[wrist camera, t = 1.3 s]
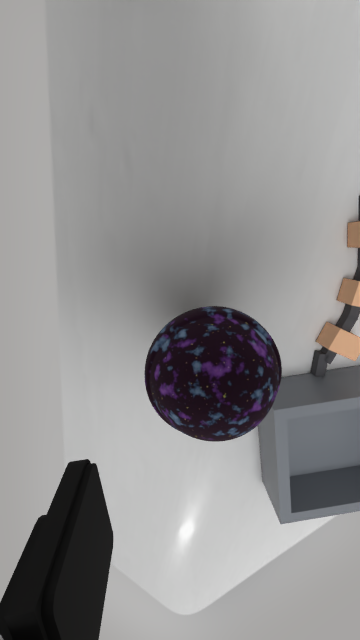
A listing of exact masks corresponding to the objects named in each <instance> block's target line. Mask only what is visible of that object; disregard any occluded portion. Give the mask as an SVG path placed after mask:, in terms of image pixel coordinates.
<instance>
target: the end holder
mask: <svg viewBox="0 0 360 640" xmlns="http://www.w3.org/2000/svg"><path fill="white" fill-rule="evenodd" d="M258 429H259V442H260V455H261V468H262V481H263V483H264V486H265V488H266V491H267V493H268V495H269V498H270V500H271V502H272V505H273V507H274V509H275V512H276V514H277V517H278V519H279V521H280V524H285V523H291V522H297V521H303V520H309V519H315V518H321V517H327V516H333V515H338V514H344V513H350V512H356V511H360V365H359V366H353V367H346V368H340V369H333V370H327V371H326V373H325V376H320V377H315V376H314V375H313V374H312V373H308V374H301V375H295V376H288V377H282V378H281V382H280V387H279V390H278V393H277V395H276V398H275V401H274V403H273V405H272V407H271V409H270V411H269V412H268V414H267V415H266V417H265V418H264V419H263V420H262V421H261V422H260V423H259V424H258Z"/></svg>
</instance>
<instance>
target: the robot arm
mask: <svg viewBox="0 0 360 640" xmlns="http://www.w3.org/2000/svg"><path fill="white" fill-rule="evenodd" d="M112 549H113V531H112V527H111V523H110V518H109V514H108V510H107V506H106V502H105V498H104V494H103V489H102V485H101V481H100V477H99V473H98V469H97V465H96V464H95V463H93V464H91V463H90V461H89V460H88V459H86V460H79V461H73V462H69V463H68V465H67V467H66V470H65V472H64V474H63V477H62V479H61V482H60V484H59V487H58V489H57V491H56V494H55V496H54V498H53V501H52V503H51V506H50V508H49V510H48V513H47V515H42V516H41V517H39V518H38V520H37V522H36V524H35V526H34V528H33V530H32V533H31V535H30V537H29V539H28V542H27V544H26V546H25V548H24V551H23V553H22V555H21V558H20V560H19V562H18V564H17V567H16V569H15V571H14V573H13V575H12V578H11V580H10V582H9V585H8V587H7V589H6V591H5V593H4V596H3V598H2V600H1V602H0V640H98V639H99V633H100V626H101V620H102V613H103V607H104V600H105V593H106V588H107V581H108V574H109V568H110V562H111V555H112Z"/></svg>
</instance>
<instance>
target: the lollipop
mask: <svg viewBox="0 0 360 640" xmlns="http://www.w3.org/2000/svg"><path fill="white" fill-rule="evenodd" d="M281 374H282V368H281V359H280V355H279V352H278V349H277V347H276V345H275V343H274V341H273V339H272V338H271V336H270V335H269V333H268V332H267V331H266V330H265V329H264V328H263V327H262V326H261V325H260V324H259V323H258V322H257V321H256V320H254V319H253V318H251V317H250V316H248V315H246V314H244V313H242V312H240V311H237V310H234V309H231V308H226V307H218V306H210V307H201V308H197V309H193V310H190V311H188V312H185V313H183V314H181V315H179V316H178V317H176V318H174V319H173V320H172V321H170V322H169V323H168V324H167V325H166V326H165V327H164V328H163V329H162V330H161V331H160V332H159V334H158V335H157V336H156V338H155V339H154V341H153V343H152V345H151V347H150V349H149V352H148V355H147V359H146V364H145V385H146V390H147V394H148V397H149V399H150V402H151V404H152V406H153V407H154V409H155V410H156V412H157V413H158V414H159V416H160V417H161V418H162V419H163V420H164V421H165V422H166V423H168V424H169V425H170V426H172V427H173V428H175V429H177V430H179V431H181V432H182V433H184V434H186V435H188V436H191V437H193V438H196V439H200V440H204V441H226V440H231V439H234V438H237V437H240V436H242V435H244V434H246V433H248V432H250V431H251V430H252V429H254V428H255V427H256V426H257V425H258V424H259V423H260V422H261V421H262V420H263V419H264V418H265V417H266V415H267V414H268V412H269V411H270V409H271V407H272V405H273V403H274V401H275V398H276V395H277V393H278V390H279V387H280V382H281Z"/></svg>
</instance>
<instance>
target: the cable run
mask: <svg viewBox="0 0 360 640" xmlns="http://www.w3.org/2000/svg"><path fill="white" fill-rule="evenodd" d="M348 247H355V248H358V268H357V271H356V274H355V277H354V280H352V279H346V278H343V282H342V285H341V288H340V291H339V294H338V298H337V300H338V301H341V302H343V303H346V305H345V308H344V311H343V314H342V316H341V317H340V319H339V321H338V322H337V324H336V326H335V325H333V324H330V323H328V322H326V324H325V326H324V328H323V329H322V331H321V333H320V335H319V336H318V338H317V340H316V342H318V343H319V344H321V345H322V346H323V348H322V350H321V351H315V353H314V358H313V363H312V368H311V373H312V374H313V375H314V376H315V377H320V376H325V373H326V368H327V363H329V364H331V362H332V361H333V359H334V357H335V356H336V354H340V355H342V356H344V357H347V358H349V359H351V360H353V361H356V359H357V358H358V356H359V354H360V337H358V336H356V335H354V334H352V333H350V331H351V329H352V327H353V326H354V324H355V322H356V321H357V320H358V317H359V314H360V196H359V221H357V222H350V223H348Z"/></svg>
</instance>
